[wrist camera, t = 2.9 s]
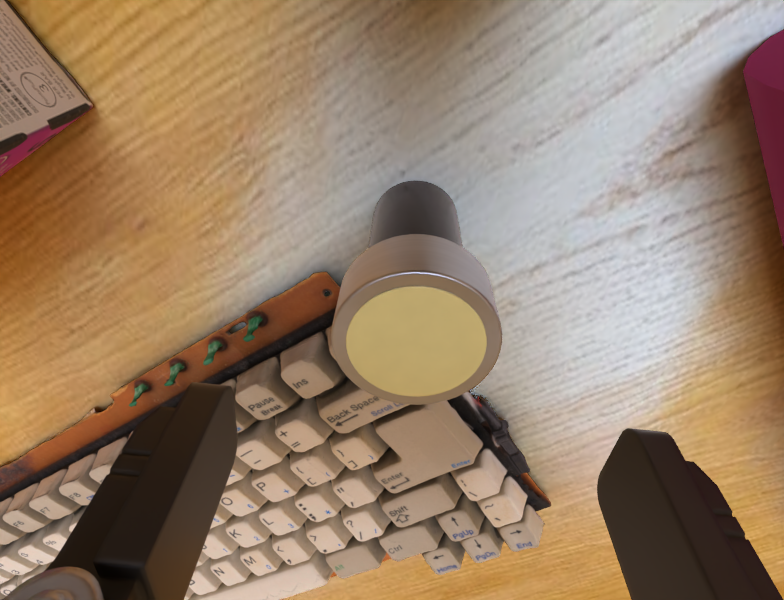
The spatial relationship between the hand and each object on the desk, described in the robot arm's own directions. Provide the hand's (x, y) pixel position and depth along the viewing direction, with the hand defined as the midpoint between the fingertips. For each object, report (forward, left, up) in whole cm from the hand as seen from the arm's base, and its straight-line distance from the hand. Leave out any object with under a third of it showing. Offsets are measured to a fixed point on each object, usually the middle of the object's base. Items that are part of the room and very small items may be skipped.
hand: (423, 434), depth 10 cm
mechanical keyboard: (-2, -23, -11) cm, 25 cm away
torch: (0, 0, -10) cm, 10 cm away
